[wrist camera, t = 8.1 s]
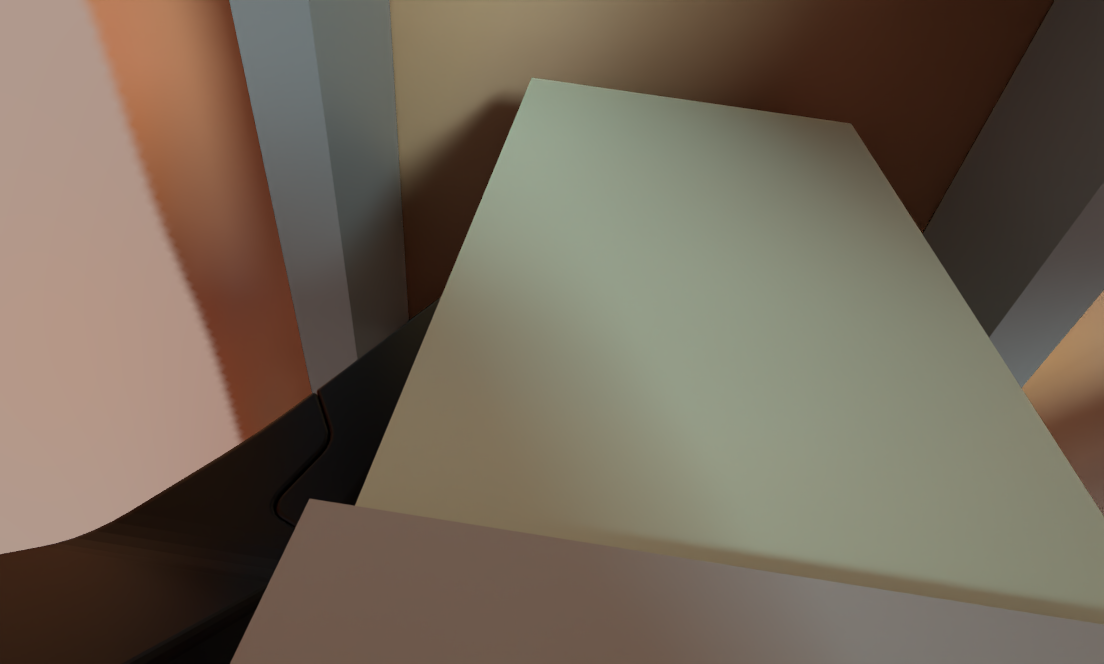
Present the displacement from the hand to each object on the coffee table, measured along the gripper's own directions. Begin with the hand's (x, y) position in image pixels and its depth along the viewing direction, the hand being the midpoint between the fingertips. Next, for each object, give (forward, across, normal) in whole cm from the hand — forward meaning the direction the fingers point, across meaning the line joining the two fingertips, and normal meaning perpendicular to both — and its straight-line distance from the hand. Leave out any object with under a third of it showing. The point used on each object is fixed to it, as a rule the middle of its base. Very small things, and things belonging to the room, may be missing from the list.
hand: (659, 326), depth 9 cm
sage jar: (+2, 0, 0) cm, 2 cm away
